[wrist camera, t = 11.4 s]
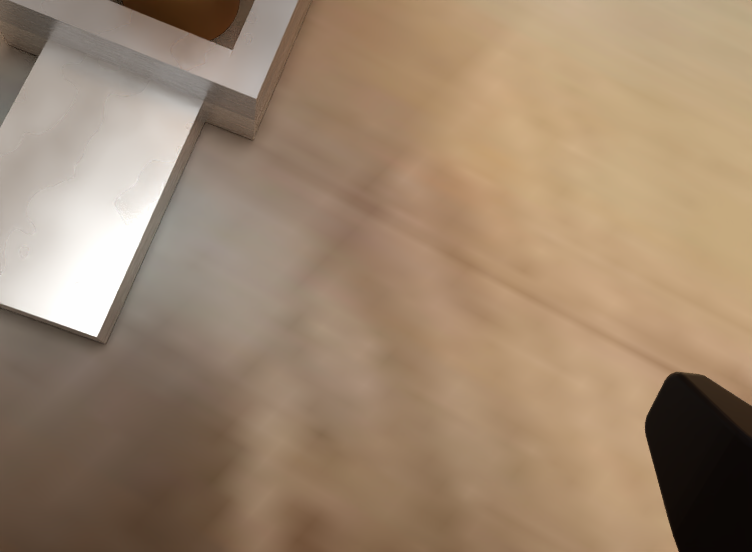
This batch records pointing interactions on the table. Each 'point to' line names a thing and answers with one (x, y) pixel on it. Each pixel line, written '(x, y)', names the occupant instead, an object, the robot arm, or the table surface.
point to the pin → (190, 14)
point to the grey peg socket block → (113, 142)
